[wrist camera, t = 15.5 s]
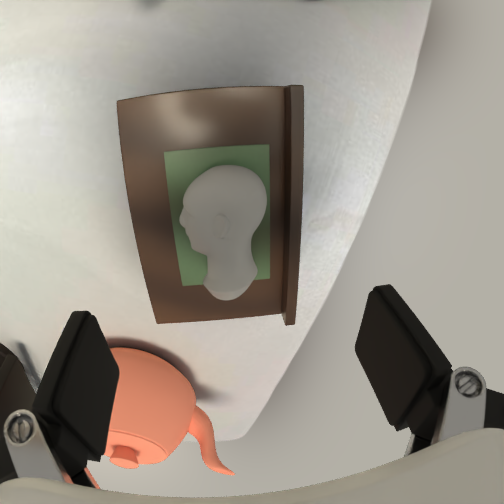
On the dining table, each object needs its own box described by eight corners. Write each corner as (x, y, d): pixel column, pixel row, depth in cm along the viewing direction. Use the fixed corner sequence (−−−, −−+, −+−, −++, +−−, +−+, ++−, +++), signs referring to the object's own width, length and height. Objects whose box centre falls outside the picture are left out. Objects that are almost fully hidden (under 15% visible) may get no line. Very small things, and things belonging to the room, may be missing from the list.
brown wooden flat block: (136, 101, 19) (108, 100, 13) (279, 90, 20) (303, 85, 14) (163, 289, 27) (154, 336, 21) (278, 279, 28) (295, 324, 22)
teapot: (243, 358, 33) (258, 453, 22) (211, 420, 39) (217, 493, 28) (58, 315, 27) (17, 402, 16) (70, 390, 33) (51, 460, 22)
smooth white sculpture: (195, 156, 18) (274, 164, 17) (192, 266, 21) (260, 278, 21) (164, 166, 14) (264, 177, 13) (167, 298, 18) (249, 315, 17)
